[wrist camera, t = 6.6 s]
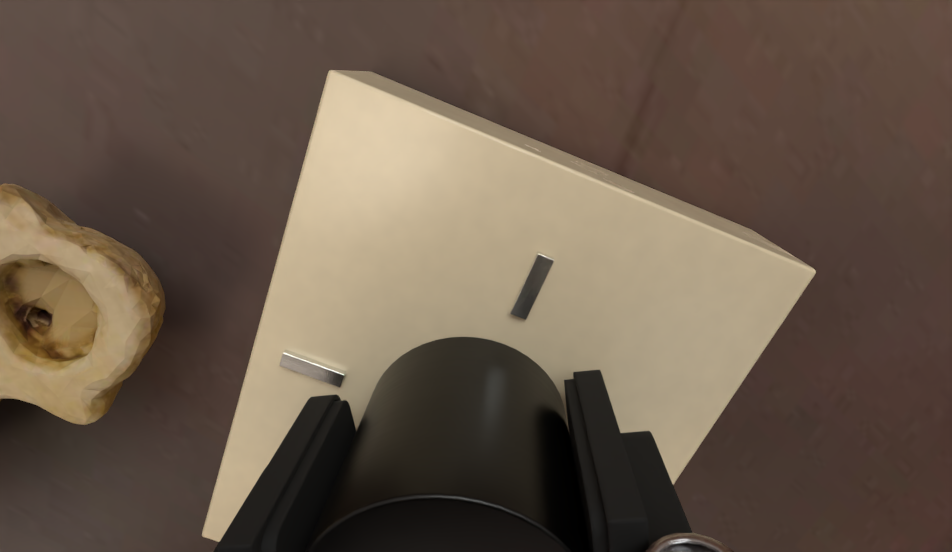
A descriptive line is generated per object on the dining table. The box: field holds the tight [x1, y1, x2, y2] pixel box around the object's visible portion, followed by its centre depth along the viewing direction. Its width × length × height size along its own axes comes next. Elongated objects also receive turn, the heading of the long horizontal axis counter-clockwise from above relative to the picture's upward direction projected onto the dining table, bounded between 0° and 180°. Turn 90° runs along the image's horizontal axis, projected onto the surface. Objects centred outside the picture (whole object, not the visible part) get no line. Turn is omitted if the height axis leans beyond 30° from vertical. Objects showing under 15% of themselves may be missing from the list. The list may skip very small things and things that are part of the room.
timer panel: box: [202, 70, 816, 542], centre depth 13 cm, size 12×10×3 cm
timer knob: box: [305, 337, 589, 552], centre depth 10 cm, size 4×4×5 cm
